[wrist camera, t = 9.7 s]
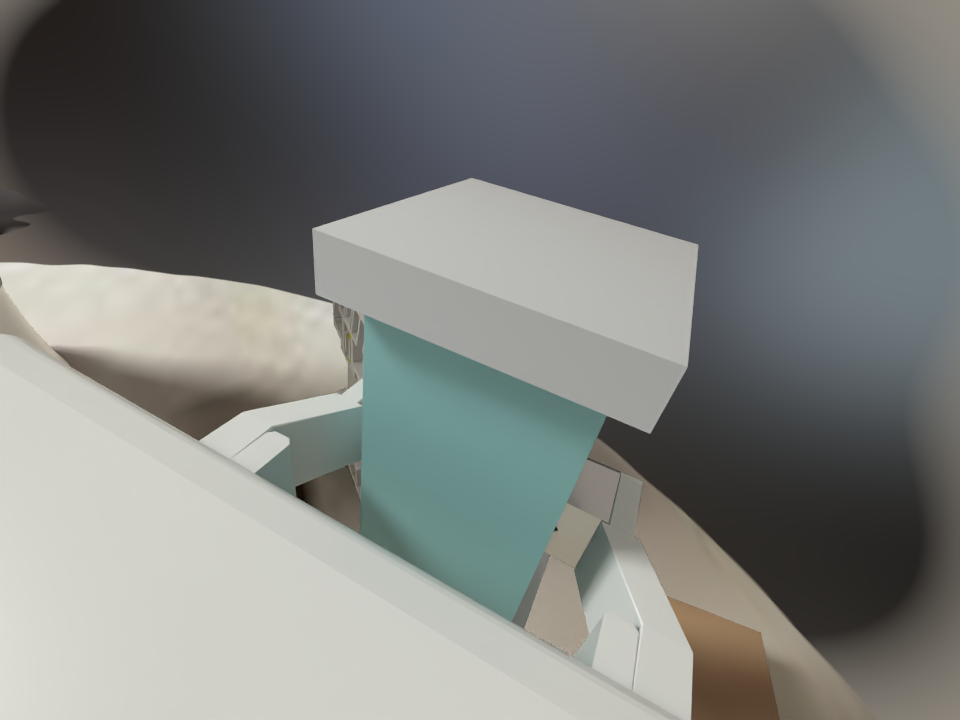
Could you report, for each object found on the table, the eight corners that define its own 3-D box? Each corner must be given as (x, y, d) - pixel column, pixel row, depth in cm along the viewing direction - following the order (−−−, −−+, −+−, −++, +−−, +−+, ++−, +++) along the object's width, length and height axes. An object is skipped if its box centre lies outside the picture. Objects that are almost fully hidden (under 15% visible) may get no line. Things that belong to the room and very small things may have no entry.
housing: (486, 727, 11) (687, 366, 5) (333, 627, 13) (312, 228, 6) (543, 568, 15) (698, 244, 8) (422, 504, 17) (471, 177, 10)
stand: (752, 847, 20) (803, 832, 18) (582, 768, 21) (610, 744, 19) (725, 661, 26) (760, 632, 24) (596, 609, 28) (618, 577, 25)
